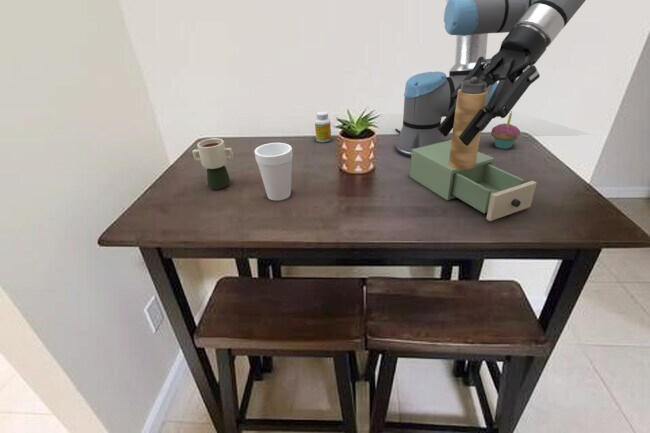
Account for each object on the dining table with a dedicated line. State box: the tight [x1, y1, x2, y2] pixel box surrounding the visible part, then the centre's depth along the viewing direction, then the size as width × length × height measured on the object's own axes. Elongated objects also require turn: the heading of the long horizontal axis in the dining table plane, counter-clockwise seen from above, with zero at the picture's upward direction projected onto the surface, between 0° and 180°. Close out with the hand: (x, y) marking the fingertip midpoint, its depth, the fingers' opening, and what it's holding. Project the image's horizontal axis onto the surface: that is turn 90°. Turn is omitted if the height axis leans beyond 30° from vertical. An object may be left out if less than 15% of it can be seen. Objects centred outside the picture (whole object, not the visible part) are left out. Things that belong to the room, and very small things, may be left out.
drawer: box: [451, 163, 538, 222], centre depth 91 cm, size 16×13×6 cm
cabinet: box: [409, 139, 495, 201], centre depth 102 cm, size 16×14×8 cm
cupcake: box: [490, 110, 521, 150], centre depth 121 cm, size 9×8×12 cm
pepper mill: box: [449, 77, 488, 170], centre depth 76 cm, size 5×5×18 cm
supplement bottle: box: [314, 110, 332, 143], centre depth 134 cm, size 5×5×10 cm
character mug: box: [192, 137, 234, 190], centre depth 106 cm, size 11×7×13 cm, turn 91°
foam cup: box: [254, 142, 294, 201], centre depth 99 cm, size 10×9×13 cm
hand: (452, 136), depth 76 cm, fingers closed on pepper mill, 5 cm apart
